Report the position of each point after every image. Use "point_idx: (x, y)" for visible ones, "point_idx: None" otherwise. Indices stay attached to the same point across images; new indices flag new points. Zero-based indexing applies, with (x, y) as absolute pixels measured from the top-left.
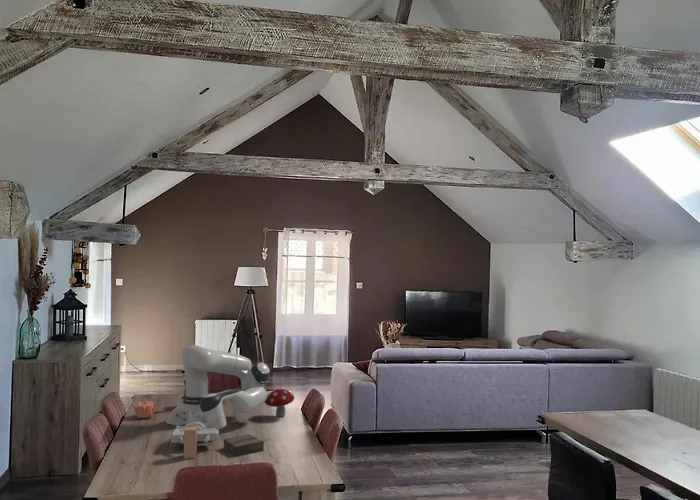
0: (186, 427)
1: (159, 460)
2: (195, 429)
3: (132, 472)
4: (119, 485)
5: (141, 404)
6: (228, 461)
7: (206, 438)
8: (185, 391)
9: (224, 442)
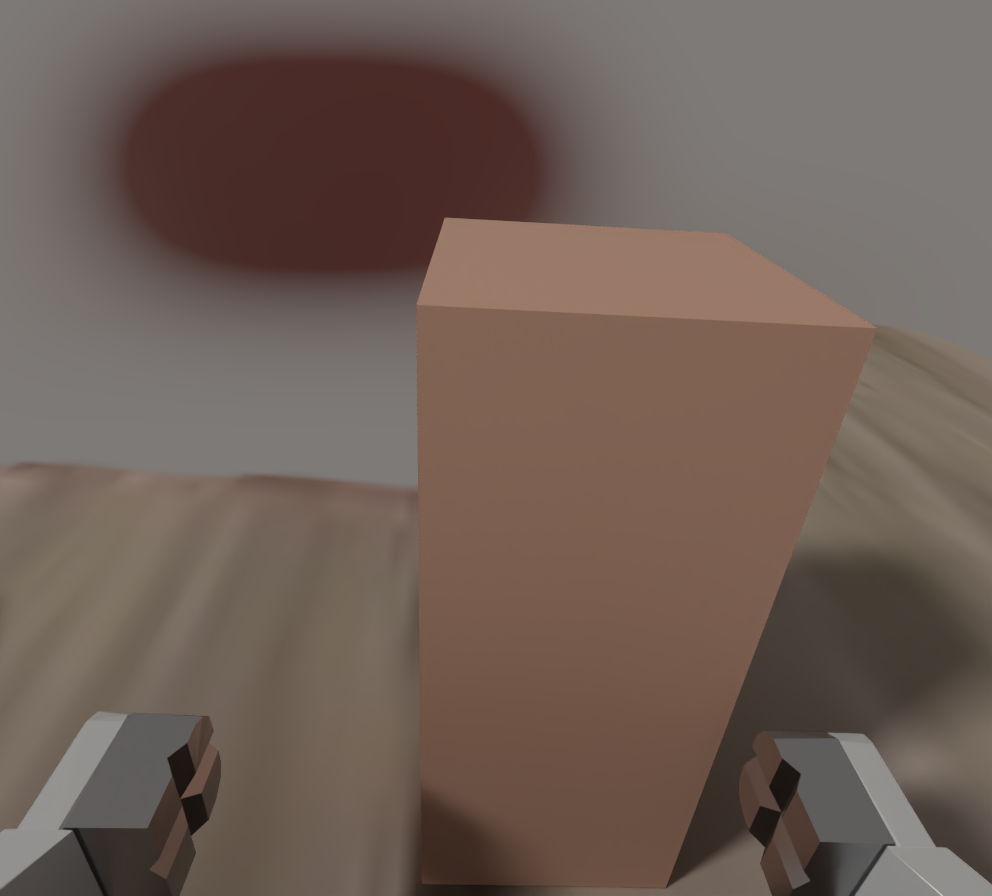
0: (789, 306)
1: (956, 683)
2: (464, 225)
3: (967, 465)
4: (873, 361)
5: None
6: (61, 523)
7: (112, 713)
8: None
9: None
